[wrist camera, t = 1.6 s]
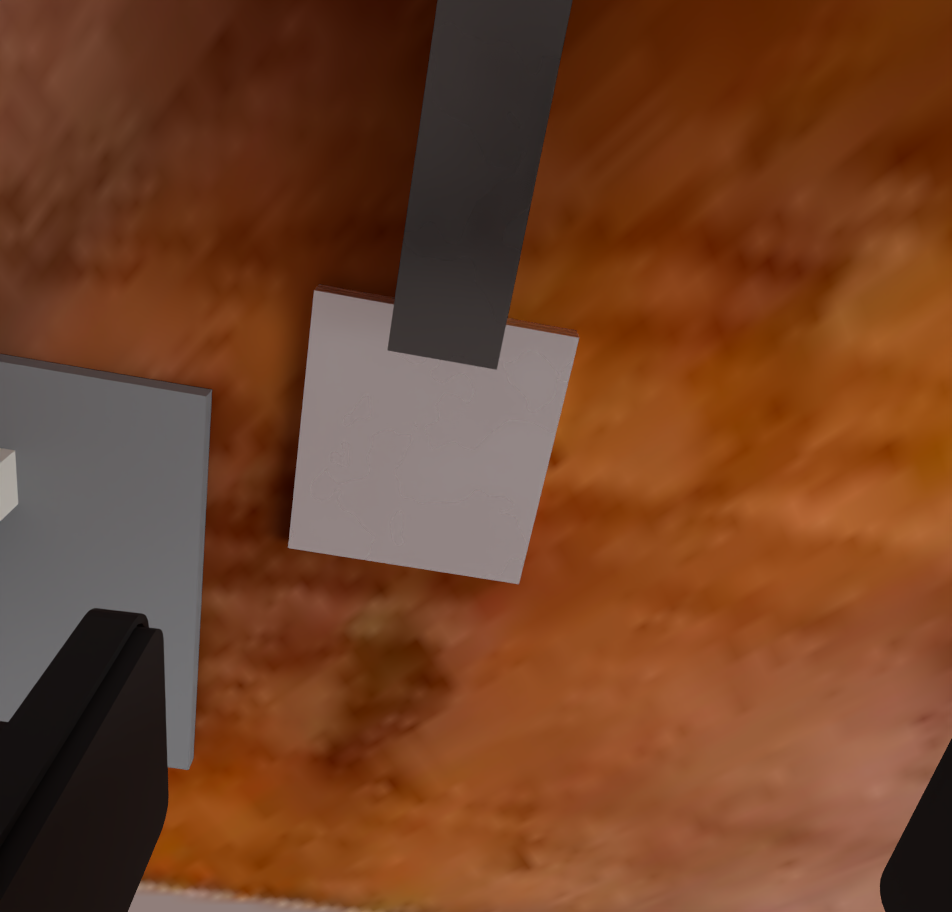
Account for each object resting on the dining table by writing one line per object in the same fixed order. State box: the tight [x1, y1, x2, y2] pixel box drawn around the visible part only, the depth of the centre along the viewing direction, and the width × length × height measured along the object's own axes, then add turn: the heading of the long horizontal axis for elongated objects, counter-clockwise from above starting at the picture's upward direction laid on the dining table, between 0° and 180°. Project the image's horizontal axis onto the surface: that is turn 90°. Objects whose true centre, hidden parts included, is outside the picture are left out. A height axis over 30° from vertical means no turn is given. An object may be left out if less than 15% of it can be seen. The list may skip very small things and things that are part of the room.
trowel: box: [288, 0, 579, 584], centre depth 23 cm, size 19×8×5 cm, turn 170°
